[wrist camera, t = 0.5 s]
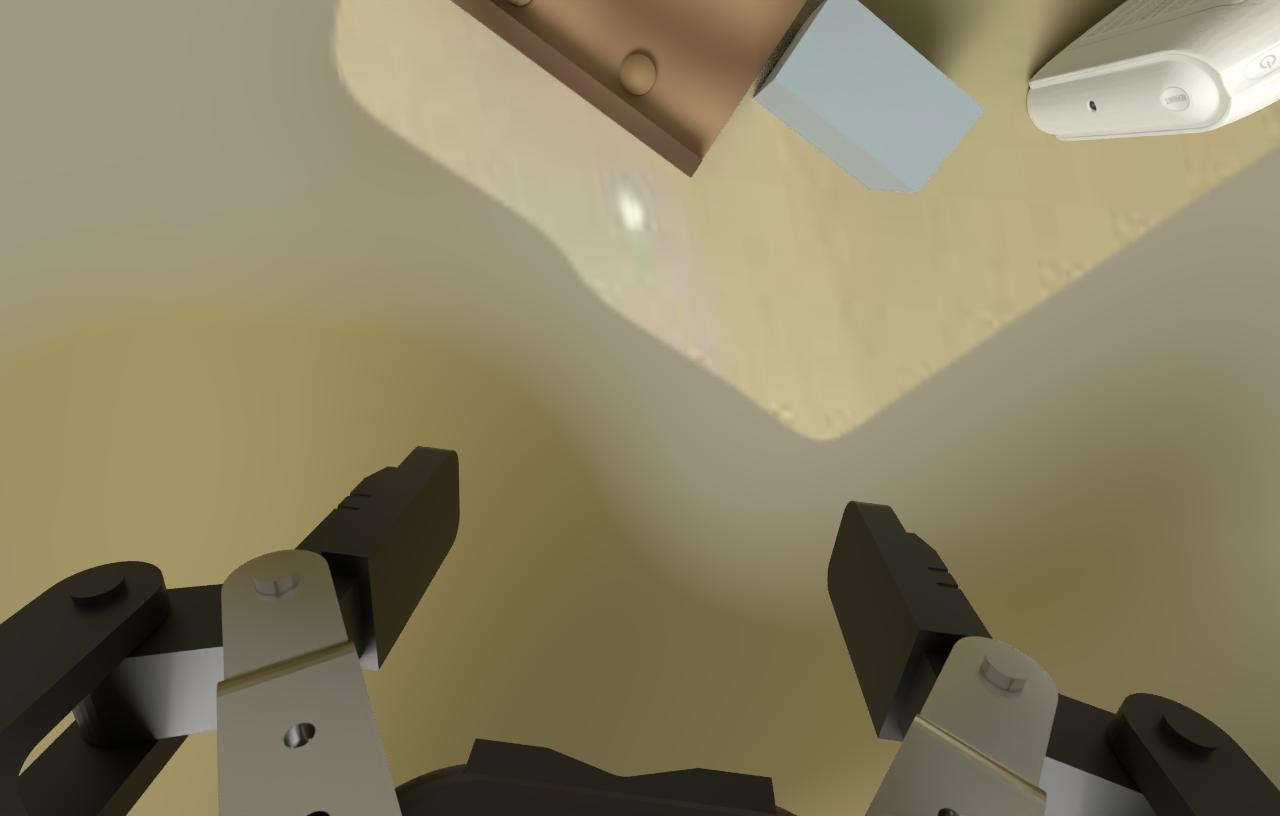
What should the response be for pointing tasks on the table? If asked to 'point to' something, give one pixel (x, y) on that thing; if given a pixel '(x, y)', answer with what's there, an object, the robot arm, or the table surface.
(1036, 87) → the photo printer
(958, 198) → the table surface
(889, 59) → the tall pale blue block
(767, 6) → the board
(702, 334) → the table surface
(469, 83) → the table surface
